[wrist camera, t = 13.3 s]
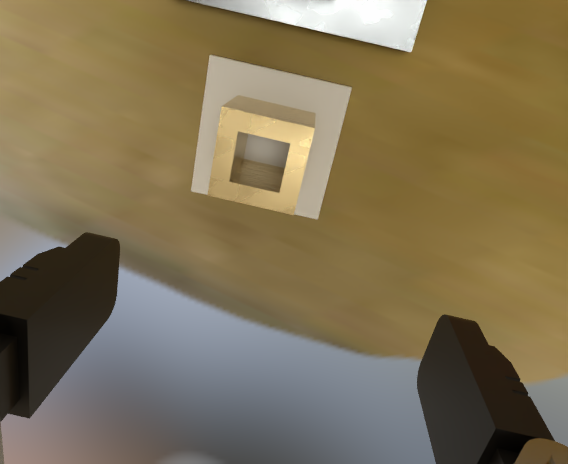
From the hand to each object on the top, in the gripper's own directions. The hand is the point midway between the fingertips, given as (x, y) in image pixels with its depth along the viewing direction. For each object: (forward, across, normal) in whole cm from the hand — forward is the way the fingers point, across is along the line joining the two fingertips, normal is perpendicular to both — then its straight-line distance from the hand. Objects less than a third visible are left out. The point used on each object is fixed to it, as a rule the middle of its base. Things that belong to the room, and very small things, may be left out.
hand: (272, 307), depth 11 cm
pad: (+24, +3, +2) cm, 25 cm away
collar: (+24, +3, +2) cm, 24 cm away
